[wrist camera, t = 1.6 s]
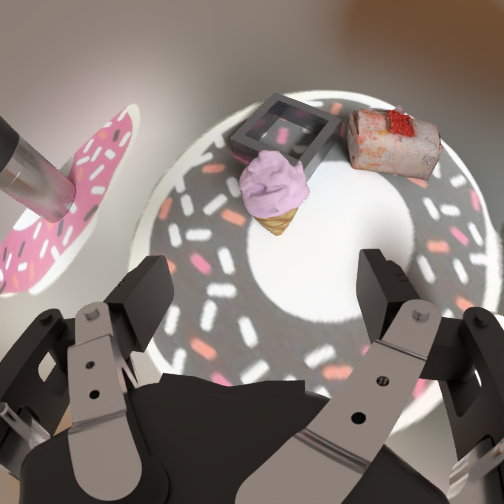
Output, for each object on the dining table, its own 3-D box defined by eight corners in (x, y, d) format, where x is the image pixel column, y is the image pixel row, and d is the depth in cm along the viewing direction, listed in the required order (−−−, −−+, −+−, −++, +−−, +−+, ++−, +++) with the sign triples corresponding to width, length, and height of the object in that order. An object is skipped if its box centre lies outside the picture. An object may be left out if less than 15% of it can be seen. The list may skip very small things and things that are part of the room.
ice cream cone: (294, 202, 38) (292, 127, 24) (313, 242, 36) (323, 178, 22) (248, 219, 38) (224, 151, 24) (265, 261, 36) (246, 206, 22)
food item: (345, 174, 39) (355, 129, 29) (344, 135, 41) (351, 89, 32) (428, 187, 36) (453, 149, 27) (420, 147, 39) (439, 108, 29)
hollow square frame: (235, 154, 42) (229, 138, 39) (277, 109, 44) (275, 92, 41) (302, 188, 39) (302, 172, 35) (339, 136, 41) (342, 119, 37)
